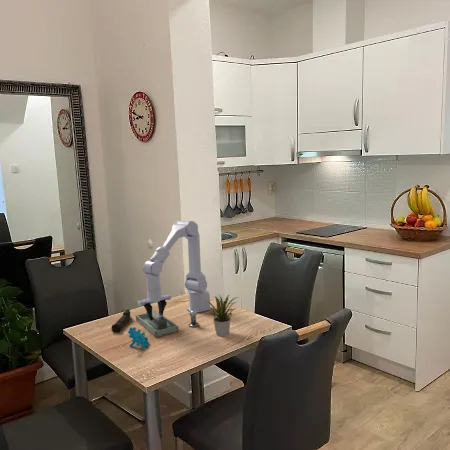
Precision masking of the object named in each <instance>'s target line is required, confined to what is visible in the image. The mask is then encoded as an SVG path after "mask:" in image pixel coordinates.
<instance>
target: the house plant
mask: <svg viewBox="0 0 450 450" xmlns="http://www.w3.org/2000/svg"><path fill="white" fill-rule="evenodd" d="M229 296H230V294H228V295H227V296H226V297H225V300H223V298H222V296H221V295H220V294H219V296H216V295H215V297H214V299H215V301H216V306H215V305H213V304H212V303H211V301H210V302H208V301H207V302H208V303H210V306H212V308H213V309H212V308H211V307H210V308H211V309H210V308H209V309H210V312H208V314H209V315H212V316H213V317H214V318H213V324H214V329H215V334H216V335H217V336H218V337H225V335H226V336H228V335H229V334H230V326H231V317H230V316H232V314H233V313H232V312H233V311H234V310H235V309H236V307H234V308H231V307H232V306H233V305H234V304H236V303H237V301H234V300H236V299H238V298H240V297H239V296H238V297H234V298H232V299H231V300H229ZM228 301H229V302H228ZM233 301H234V302H233ZM215 307H216V308H215ZM228 312H229V313H228Z"/></svg>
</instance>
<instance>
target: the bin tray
mask: <svg viewBox="0 0 450 450" xmlns="http://www.w3.org/2000/svg"><path fill="white" fill-rule="evenodd" d="M156 311H157V312H158V313H159V310H156ZM163 317H165V318H166V319H167V328H164V329H160V330H158V329H157V328H155V327H154V326H153V325H152V324H151V323H149V322H148V321H147V314H146V312H145V313H139V314H135V321H136V322H137V323H138V324H139V325H140V326H142V328H144V329H145V330H146V331H147V332H148V333H150V334H151V335H153V337H154V338H160V337H164V336H167V335H172V334H175V333H178V332H179V325H178V324H176V323H175V322H174V321H172V320H170V319H169V318H167V317H166V316H165V315H163Z"/></svg>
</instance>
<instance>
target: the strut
mask: <svg viewBox="0 0 450 450" xmlns="http://www.w3.org/2000/svg"><path fill="white" fill-rule="evenodd" d="M157 311H158V310H156V309H152V317H153V319H152V320H150V319H149V316H148V313H147V311H146V312H145V313H146V314H147V321H148V322H149V323H151V324H152V325H153V326H154V327H155V328H157V329H158V330H160V329H164V328H167V319H166V318H167V317H166V316H165V317H166V318H165V317H163V316H164V315H163V316H162V315H161V314H159V313H158V312H159V311H158V312H157Z"/></svg>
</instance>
